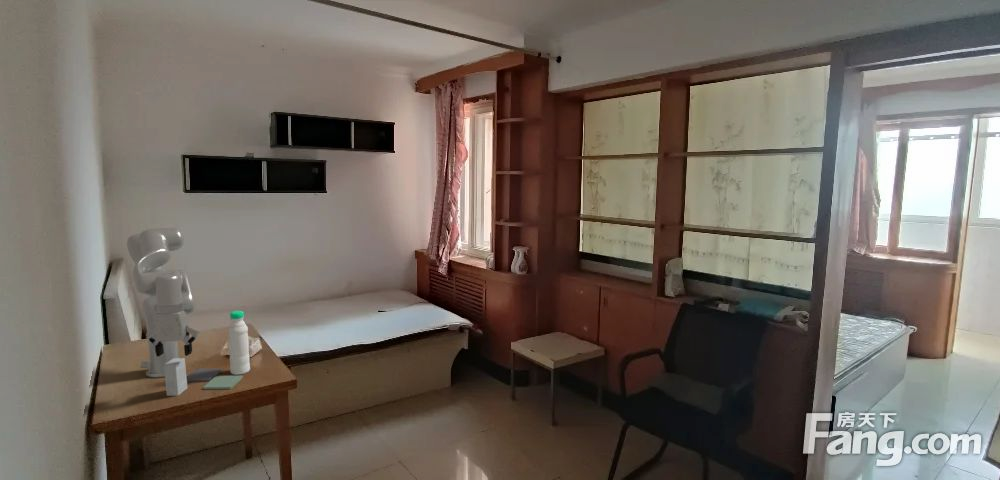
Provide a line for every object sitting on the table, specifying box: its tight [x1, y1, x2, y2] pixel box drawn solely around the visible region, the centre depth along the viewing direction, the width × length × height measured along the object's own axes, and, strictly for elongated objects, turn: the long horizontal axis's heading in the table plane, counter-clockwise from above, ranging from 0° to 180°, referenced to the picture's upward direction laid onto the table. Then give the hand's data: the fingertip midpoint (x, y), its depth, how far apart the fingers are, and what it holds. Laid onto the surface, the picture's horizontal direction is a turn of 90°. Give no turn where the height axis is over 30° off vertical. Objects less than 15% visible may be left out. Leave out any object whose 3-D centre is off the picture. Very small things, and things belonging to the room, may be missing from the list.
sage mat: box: [202, 375, 244, 390], centre depth 184 cm, size 10×10×1 cm
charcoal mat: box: [186, 368, 223, 383], centre depth 190 cm, size 10×10×1 cm
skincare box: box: [164, 357, 188, 397], centre depth 175 cm, size 6×4×12 cm
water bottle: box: [227, 310, 251, 376], centre depth 192 cm, size 7×7×25 cm
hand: (174, 354), depth 173 cm, fingers open, 9 cm apart
